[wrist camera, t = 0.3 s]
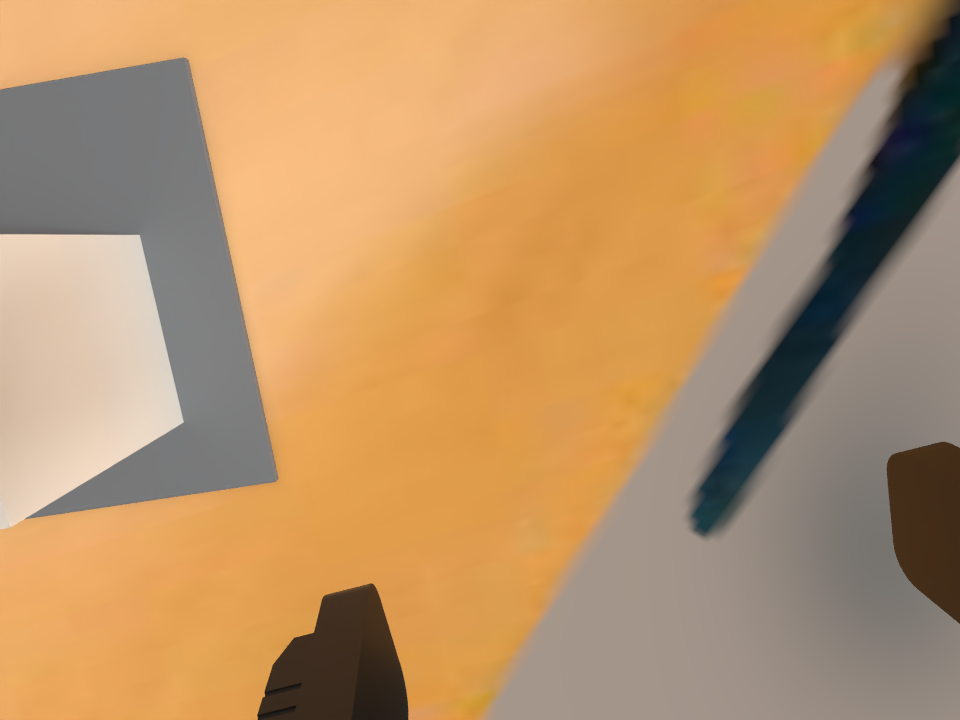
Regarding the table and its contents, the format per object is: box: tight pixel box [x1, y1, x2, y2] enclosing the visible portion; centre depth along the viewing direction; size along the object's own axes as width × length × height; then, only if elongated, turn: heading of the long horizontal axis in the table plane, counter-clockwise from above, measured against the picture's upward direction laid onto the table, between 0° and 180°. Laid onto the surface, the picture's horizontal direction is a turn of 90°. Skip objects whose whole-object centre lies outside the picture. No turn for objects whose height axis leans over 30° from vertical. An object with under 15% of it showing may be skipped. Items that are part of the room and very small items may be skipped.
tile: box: [0, 234, 184, 529], centre depth 30 cm, size 10×2×14 cm, turn 9°
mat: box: [0, 58, 278, 519], centre depth 38 cm, size 22×22×1 cm
